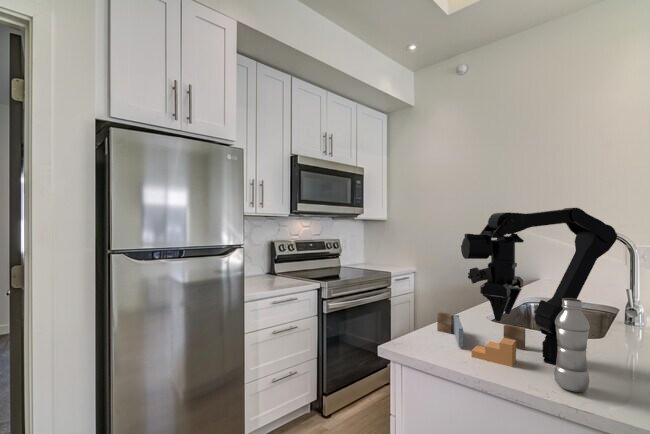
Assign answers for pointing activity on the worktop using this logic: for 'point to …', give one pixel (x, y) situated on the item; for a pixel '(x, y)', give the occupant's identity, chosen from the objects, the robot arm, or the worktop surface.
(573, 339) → the silver bottle
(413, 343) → the worktop surface
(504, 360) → the orange stepped block
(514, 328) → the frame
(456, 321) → the grey piece
